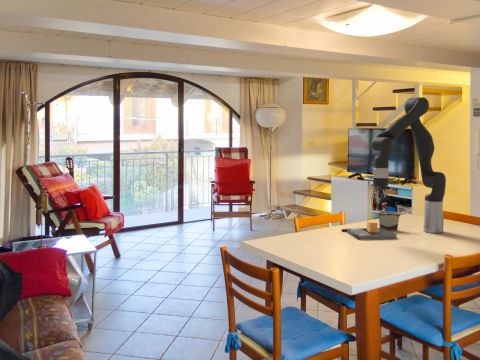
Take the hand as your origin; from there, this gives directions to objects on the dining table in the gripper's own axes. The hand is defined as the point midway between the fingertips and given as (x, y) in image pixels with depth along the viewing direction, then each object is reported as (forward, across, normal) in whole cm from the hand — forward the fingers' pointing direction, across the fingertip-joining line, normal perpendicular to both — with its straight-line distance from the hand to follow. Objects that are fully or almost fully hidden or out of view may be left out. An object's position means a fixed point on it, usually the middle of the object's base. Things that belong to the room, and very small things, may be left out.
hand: (379, 210), depth 240 cm
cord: (+15, +10, +10) cm, 21 cm away
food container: (+15, +23, -15) cm, 31 cm away
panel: (+15, +10, 0) cm, 18 cm away
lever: (+15, +9, 0) cm, 18 cm away
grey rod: (+15, +21, +7) cm, 27 cm away
